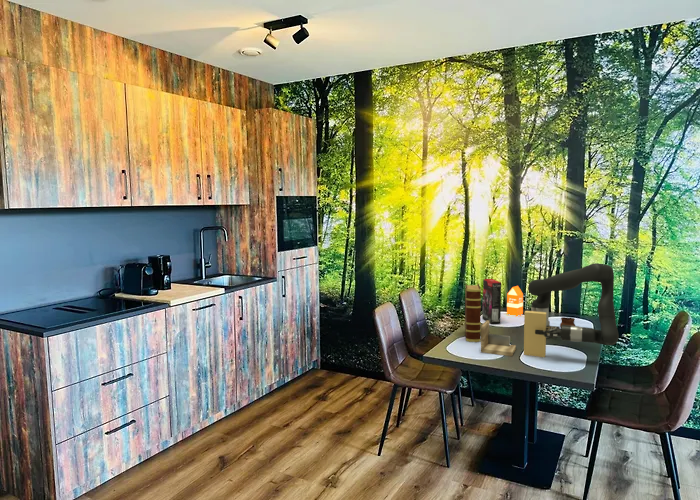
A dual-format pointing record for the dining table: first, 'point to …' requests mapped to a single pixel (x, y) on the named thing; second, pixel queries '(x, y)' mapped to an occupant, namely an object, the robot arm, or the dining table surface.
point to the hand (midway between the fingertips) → (536, 329)
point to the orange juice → (515, 301)
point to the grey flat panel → (499, 339)
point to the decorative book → (472, 312)
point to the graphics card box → (491, 301)
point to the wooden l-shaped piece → (491, 347)
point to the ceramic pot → (567, 321)
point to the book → (532, 341)
